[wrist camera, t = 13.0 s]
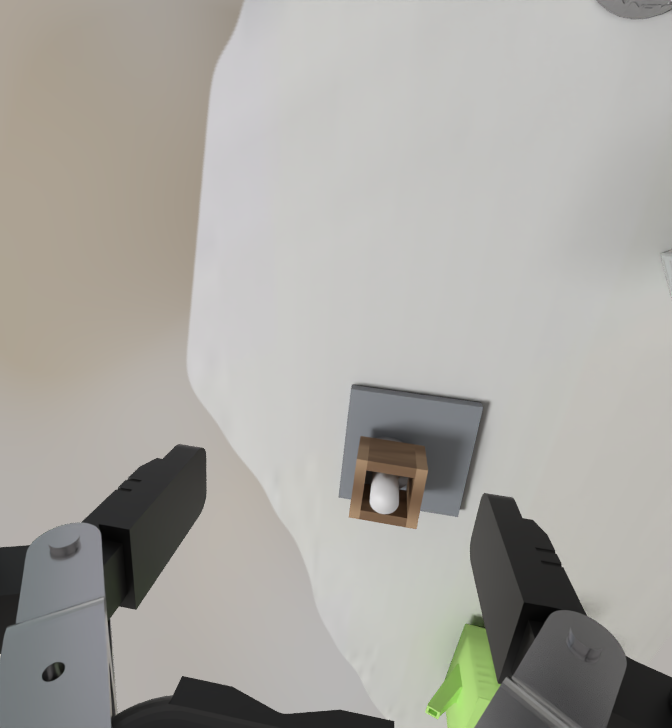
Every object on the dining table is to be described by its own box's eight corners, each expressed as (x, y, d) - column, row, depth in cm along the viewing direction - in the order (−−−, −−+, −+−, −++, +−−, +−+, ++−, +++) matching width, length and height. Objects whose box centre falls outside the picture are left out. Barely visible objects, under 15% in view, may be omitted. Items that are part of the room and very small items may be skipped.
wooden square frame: (360, 435, 42) (356, 458, 38) (424, 445, 41) (428, 470, 37) (353, 489, 44) (348, 517, 40) (414, 499, 43) (416, 529, 39)
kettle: (513, 589, 49) (546, 691, 38) (575, 668, 51) (622, 784, 41) (405, 636, 53) (409, 738, 42) (467, 706, 56) (484, 820, 45)
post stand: (352, 384, 43) (342, 419, 36) (480, 402, 42) (499, 442, 34) (339, 490, 47) (329, 542, 40) (456, 509, 46) (468, 567, 39)
